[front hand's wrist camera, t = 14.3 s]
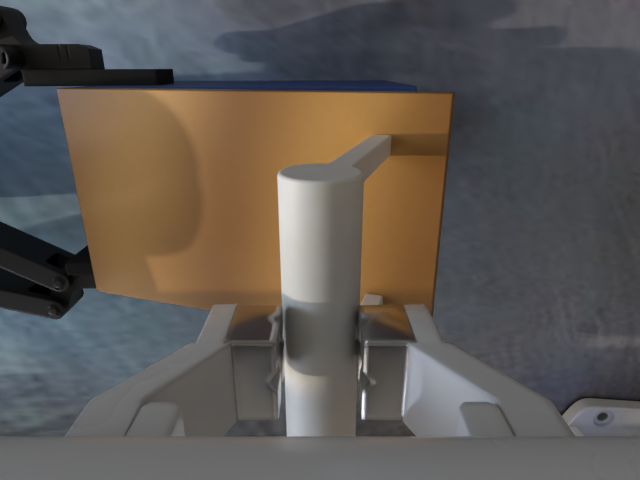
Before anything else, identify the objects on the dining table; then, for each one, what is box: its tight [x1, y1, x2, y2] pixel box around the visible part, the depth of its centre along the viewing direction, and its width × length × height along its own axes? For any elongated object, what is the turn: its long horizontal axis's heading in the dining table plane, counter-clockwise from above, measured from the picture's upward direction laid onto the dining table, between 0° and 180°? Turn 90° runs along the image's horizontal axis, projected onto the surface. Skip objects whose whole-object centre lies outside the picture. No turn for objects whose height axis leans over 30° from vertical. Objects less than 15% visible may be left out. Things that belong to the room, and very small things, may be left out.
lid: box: [57, 87, 455, 436], centre depth 15 cm, size 16×10×9 cm, turn 90°
